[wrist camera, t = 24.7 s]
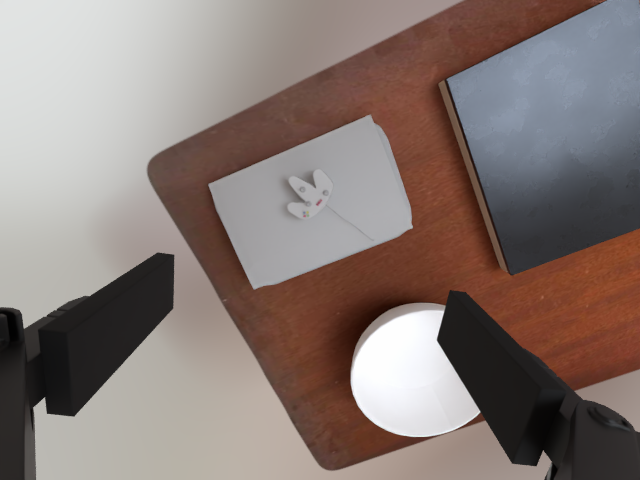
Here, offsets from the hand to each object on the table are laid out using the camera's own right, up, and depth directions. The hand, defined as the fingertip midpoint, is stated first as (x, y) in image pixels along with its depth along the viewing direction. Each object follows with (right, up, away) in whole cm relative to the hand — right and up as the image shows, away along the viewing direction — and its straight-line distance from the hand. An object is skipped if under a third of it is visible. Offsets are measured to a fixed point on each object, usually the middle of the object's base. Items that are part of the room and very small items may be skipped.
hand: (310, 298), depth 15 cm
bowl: (+13, -12, +31) cm, 36 cm away
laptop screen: (+28, +13, +22) cm, 38 cm away
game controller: (+2, +6, +22) cm, 23 cm away
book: (0, +7, +26) cm, 27 cm away
